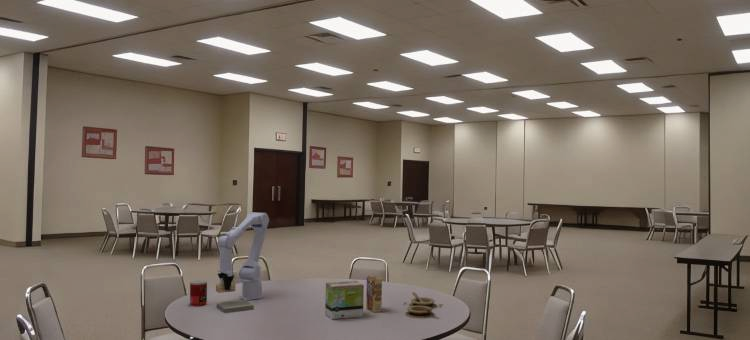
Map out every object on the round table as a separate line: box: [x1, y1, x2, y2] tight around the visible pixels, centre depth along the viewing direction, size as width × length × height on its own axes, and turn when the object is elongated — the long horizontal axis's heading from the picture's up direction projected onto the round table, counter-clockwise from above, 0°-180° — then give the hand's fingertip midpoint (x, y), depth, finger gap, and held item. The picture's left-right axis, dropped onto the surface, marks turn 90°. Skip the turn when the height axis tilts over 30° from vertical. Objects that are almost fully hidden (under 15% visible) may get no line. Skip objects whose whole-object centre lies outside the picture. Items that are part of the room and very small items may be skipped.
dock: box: [216, 299, 255, 314], centre depth 268 cm, size 14×12×2 cm
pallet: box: [215, 281, 236, 294], centre depth 275 cm, size 8×5×4 cm, turn 121°
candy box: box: [365, 275, 383, 313], centre depth 267 cm, size 9×4×15 cm, turn 26°
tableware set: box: [402, 291, 443, 319], centre depth 267 cm, size 30×20×6 cm, turn 171°
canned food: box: [189, 279, 208, 307], centre depth 276 cm, size 8×8×11 cm
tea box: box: [324, 280, 365, 320], centre depth 256 cm, size 15×10×15 cm, turn 114°
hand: (225, 288), depth 275 cm, fingers closed on pallet, 5 cm apart
